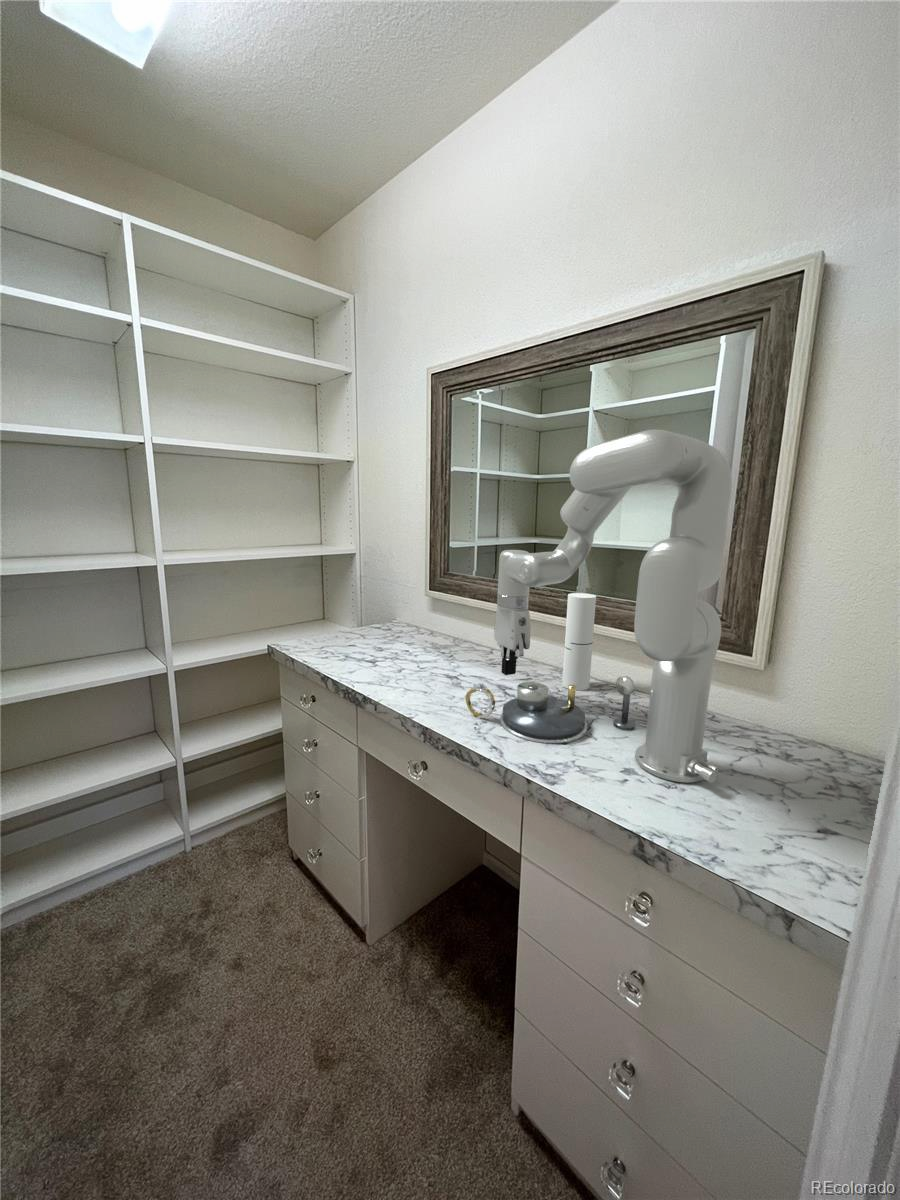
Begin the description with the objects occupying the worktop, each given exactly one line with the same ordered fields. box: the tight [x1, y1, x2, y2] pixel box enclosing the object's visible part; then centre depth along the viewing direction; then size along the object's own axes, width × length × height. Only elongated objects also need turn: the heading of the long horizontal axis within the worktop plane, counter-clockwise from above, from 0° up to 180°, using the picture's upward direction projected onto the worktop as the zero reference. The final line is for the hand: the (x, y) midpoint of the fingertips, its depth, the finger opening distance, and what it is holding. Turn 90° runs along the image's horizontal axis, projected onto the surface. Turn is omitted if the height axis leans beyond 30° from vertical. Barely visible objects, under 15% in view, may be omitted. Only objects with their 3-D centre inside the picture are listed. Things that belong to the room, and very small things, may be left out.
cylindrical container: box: [561, 592, 597, 691], centre depth 126 cm, size 7×7×25 cm
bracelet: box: [465, 683, 496, 719], centre depth 106 cm, size 7×3×8 cm, turn 52°
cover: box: [516, 681, 549, 710], centre depth 108 cm, size 7×7×4 cm
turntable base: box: [499, 712, 588, 745], centre depth 105 cm, size 19×19×1 cm
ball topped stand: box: [613, 675, 636, 731], centre depth 103 cm, size 4×4×12 cm
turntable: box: [502, 685, 586, 739], centre depth 104 cm, size 18×18×7 cm
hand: (508, 673), depth 117 cm, fingers closed
